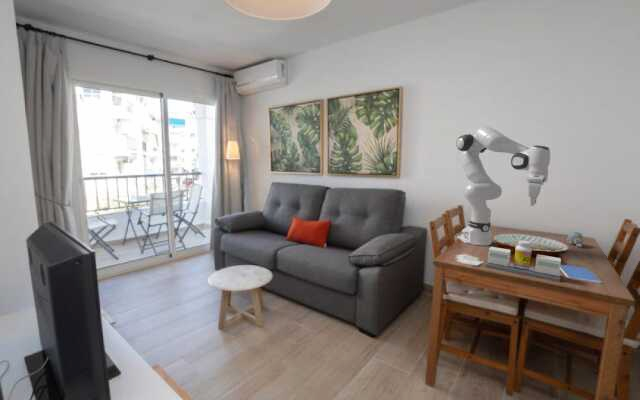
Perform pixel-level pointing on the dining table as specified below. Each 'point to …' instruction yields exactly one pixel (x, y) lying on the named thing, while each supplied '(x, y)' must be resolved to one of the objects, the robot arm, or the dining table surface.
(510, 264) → the DIN rail
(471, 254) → the dining table surface
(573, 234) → the rhino figurine
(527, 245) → the supplement bottle
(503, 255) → the mounted modules
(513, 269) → the rail panel
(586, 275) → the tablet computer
